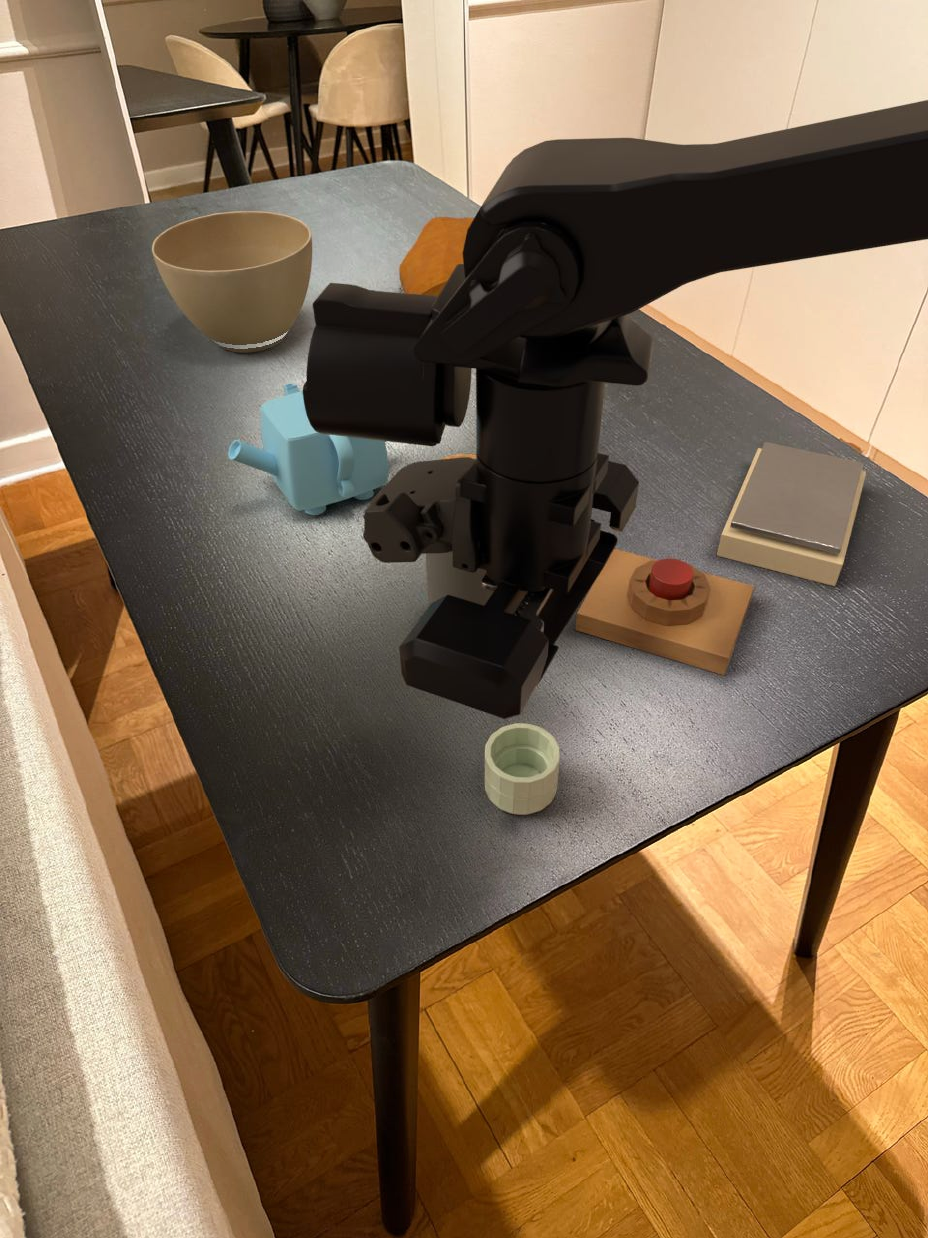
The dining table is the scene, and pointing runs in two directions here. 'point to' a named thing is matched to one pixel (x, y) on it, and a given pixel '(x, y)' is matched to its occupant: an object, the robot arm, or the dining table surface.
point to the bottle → (454, 575)
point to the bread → (434, 256)
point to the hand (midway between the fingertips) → (525, 676)
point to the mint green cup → (521, 768)
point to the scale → (785, 547)
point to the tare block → (666, 613)
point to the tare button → (671, 579)
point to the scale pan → (799, 497)
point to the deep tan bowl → (237, 274)
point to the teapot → (312, 457)
